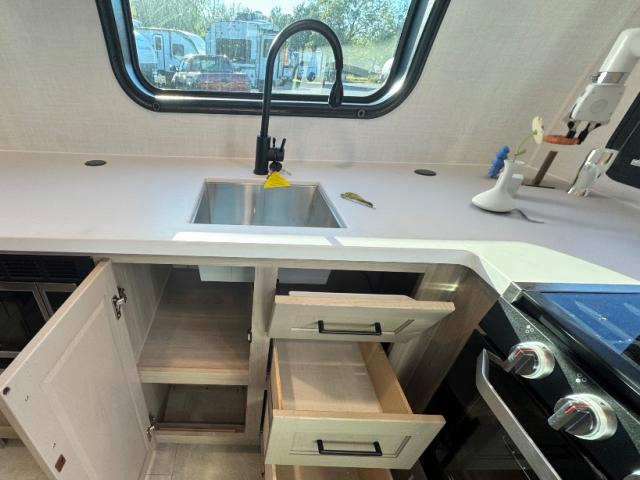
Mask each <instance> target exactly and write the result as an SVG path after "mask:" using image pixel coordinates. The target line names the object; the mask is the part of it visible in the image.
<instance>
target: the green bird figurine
mask: <svg viewBox="0 0 640 480" xmlns="http://www.w3.org/2000/svg"><path fill="white" fill-rule="evenodd" d="M339 195H340V197H344V198H347V199H349V200H355V201H357V202H360V203H362V204H365V205H367V206H370V207H371V208H372V209H373V207H374V205H373V203H372V202H371V201H368V200H365V199H364V198H363V197H361V195H359V194H358V193H355V192H351V191H348V192H344V193H343V192H341V193H339Z"/></svg>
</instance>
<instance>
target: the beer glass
mask: <svg viewBox="0 0 640 480" xmlns="http://www.w3.org/2000/svg"><path fill="white" fill-rule="evenodd" d="M619 153H620V151H619V150H616V149H611V148H605V147H591V149H590V150H589V151H588V153H587V154H586V156H585V157H584V158H583V160H582V162H581V163H580V165H579V166H578V169H577V171H576V174H575V176H574V179H573V181H572V183H571V185H569V187H568V188H567V189H566V190H565V193H567V194H569V195H573V196H578V197H588V196H589V194H590V191H591V189H592V188H593V187H594V186H595V184H596V183H597V182H598V181H599V180H600V179H601V178H602V177H603V176H604V175H605V174H606V172H607V171H608V170H609V168H610V167H611V166H612V164H613V163H614V161H615V159H616V158H617V156H618V154H619Z"/></svg>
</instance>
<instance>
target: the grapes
mask: <svg viewBox="0 0 640 480" xmlns="http://www.w3.org/2000/svg"><path fill="white" fill-rule="evenodd" d="M498 150H499V151H498V152H496V153H495V156H496V157H495V158H493V159H492V160H491V165H492V166H491V167H489V168H488V177H489V178H495V177H497V176H498V175H499V174H501V170H502V169H503V168H505V163H504V160H511V159H510V158H509V157H508V154H509V153H511V150H510V148H509V146H508V145H503V146H501V147H500V148H499V149H498Z"/></svg>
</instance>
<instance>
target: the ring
mask: <svg viewBox="0 0 640 480" xmlns="http://www.w3.org/2000/svg"><path fill="white" fill-rule="evenodd" d="M545 136H546V139H543V142H544V143H547V144H551V145H558V146H559V145H560V146H561V145H562V146H575V145H577V143H579V141H580V140H579V138H577V137H576V136H574V137H573V139H568V138H565V136H566V135H565V134H564V135H563V134H547V135H546V134H545Z"/></svg>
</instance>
